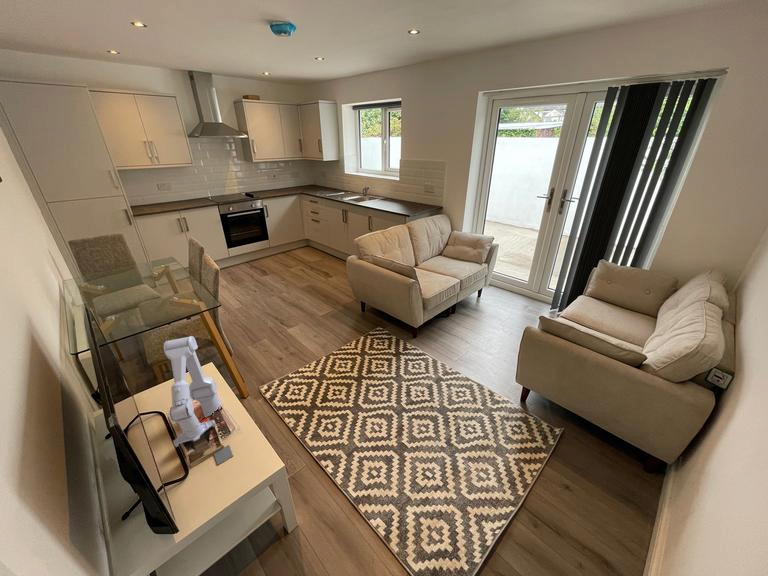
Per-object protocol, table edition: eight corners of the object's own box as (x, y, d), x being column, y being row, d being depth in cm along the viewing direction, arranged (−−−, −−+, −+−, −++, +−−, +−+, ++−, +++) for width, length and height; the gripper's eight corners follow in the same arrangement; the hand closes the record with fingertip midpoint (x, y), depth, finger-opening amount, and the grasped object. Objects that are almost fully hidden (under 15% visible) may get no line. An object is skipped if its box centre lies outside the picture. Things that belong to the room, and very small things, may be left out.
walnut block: (196, 445, 127) (191, 438, 124) (207, 439, 130) (203, 432, 127) (198, 454, 124) (194, 446, 121) (210, 447, 127) (206, 440, 124)
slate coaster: (214, 453, 127) (213, 453, 127) (229, 445, 130) (228, 444, 130) (217, 465, 123) (217, 464, 123) (233, 456, 126) (232, 455, 126)
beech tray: (182, 439, 132) (181, 437, 131) (215, 422, 139) (214, 420, 138) (189, 468, 122) (188, 466, 121) (224, 447, 129) (223, 445, 128)
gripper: (170, 444, 112) (184, 463, 120) (212, 421, 120) (223, 441, 127) (167, 430, 117) (180, 449, 124) (208, 409, 124) (218, 428, 132)
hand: (202, 444), depth 126 cm, fingers closed on walnut block, 4 cm apart
